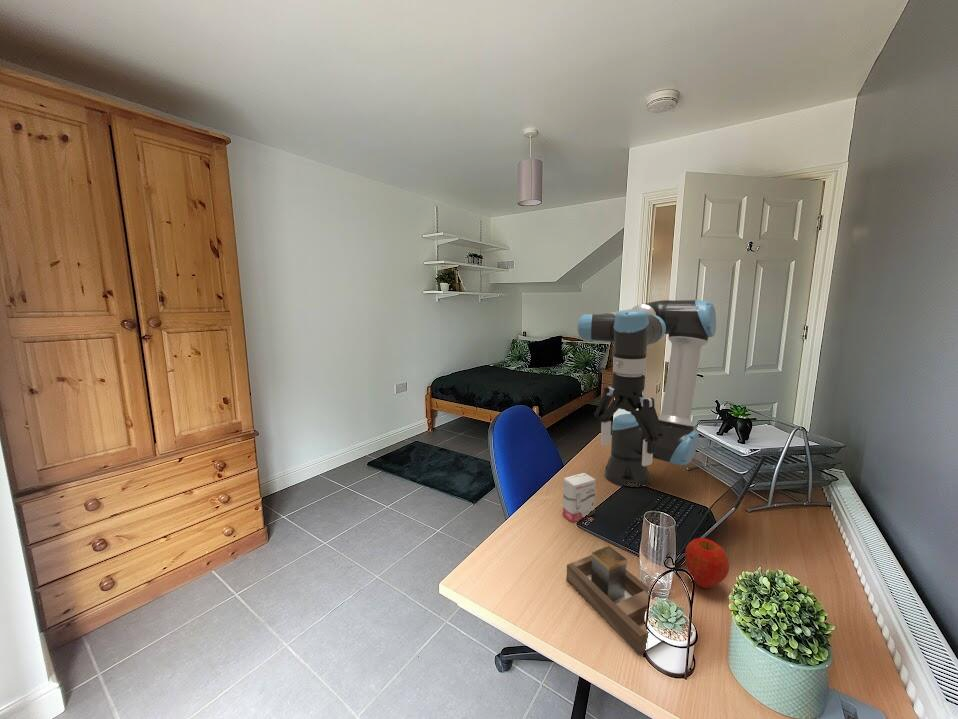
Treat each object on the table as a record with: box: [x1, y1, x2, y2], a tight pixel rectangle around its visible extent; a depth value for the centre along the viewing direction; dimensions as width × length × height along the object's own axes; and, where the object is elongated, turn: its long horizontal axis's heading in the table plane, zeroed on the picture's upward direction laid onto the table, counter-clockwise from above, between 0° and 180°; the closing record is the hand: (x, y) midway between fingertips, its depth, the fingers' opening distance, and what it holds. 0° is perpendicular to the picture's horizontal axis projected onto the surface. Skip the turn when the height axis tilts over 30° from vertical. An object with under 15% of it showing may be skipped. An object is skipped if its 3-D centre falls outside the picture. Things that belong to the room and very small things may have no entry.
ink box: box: [562, 472, 597, 523], centre depth 114 cm, size 9×5×12 cm, turn 116°
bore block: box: [565, 554, 662, 656], centre depth 82 cm, size 11×21×4 cm, turn 26°
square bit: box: [591, 545, 628, 602], centre depth 84 cm, size 5×5×9 cm
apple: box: [684, 537, 730, 589], centre depth 86 cm, size 9×8×11 cm
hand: (624, 454), depth 98 cm, fingers open, 13 cm apart
